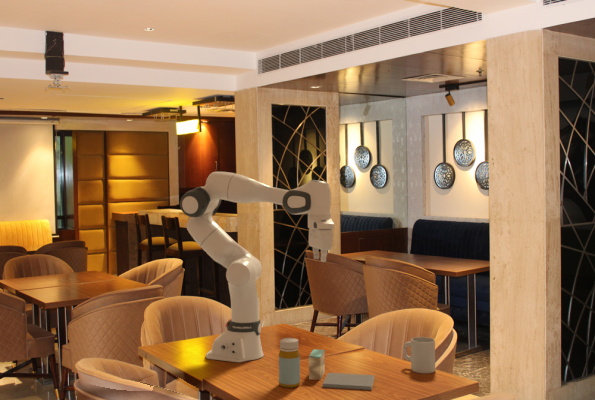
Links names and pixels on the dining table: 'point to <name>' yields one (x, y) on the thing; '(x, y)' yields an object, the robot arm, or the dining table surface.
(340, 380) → the board
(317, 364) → the block
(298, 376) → the bottle
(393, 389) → the dining table surface
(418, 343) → the mug
